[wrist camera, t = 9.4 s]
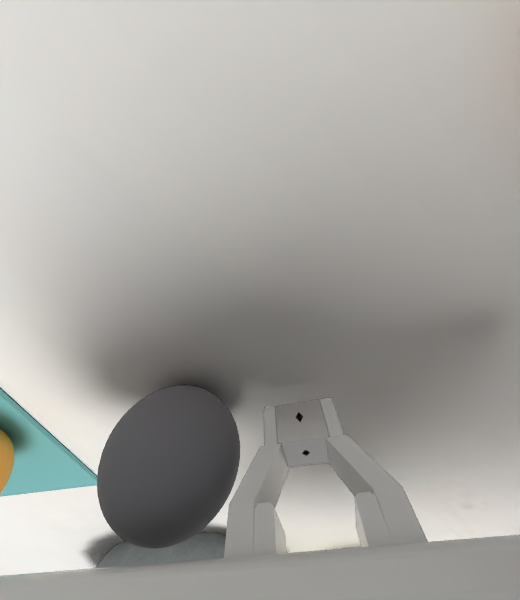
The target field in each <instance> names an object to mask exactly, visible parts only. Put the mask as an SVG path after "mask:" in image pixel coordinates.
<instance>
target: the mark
mask: <svg viewBox="0 0 520 600" xmlns="http://www.w3.org/2000/svg"><path fill="white" fill-rule="evenodd" d="M0 429H2V430H3V431H4V432H5V433H6V434H7V435H8V436H9V438H10V439H11V441H12V443H13V447H14V451H15V457H14V465H13V469H12V473H11V475H10V477H9V480H8V482H7V484H6V486H5V487H4V489H3V490H2V492H1V494H0V496H9V495H17V494H26V493H34V492H43V491H51V490H60V489H68V488H77V487H85V486H93V485H97V476H96V475H95V474H94V473H93V472H91V471H90V470H89V469H88V468H87V467H86V466H85V465H84V464H83V463H81V462H80V461H79V460H78V459H77V458H76V457H75V456H74V455H73V454H72V453H70V452H69V451H68V450H67V449H66V448H65V447H64V446H63V445H62V444H61V443H59V442H58V441H57V440H56V439H55V438H54V437H53V436H52V435H51V434H50V433H48V432H47V431H46V430H45V429H44V428H43V427H42V426H41V425H40V424H39V423H37V422H36V421H35V420H34V419H33V418H32V417H31V416H30V415H29V414H28V413H26V412H25V411H24V410H23V409H22V408H21V407H20V406H19V405H18V404H16V403H15V402H14V401H13V400H12V399H11V398H10V397H9V396H8V395H7V394H5V393H4V392H3V391H2V390H1V389H0Z"/></svg>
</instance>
